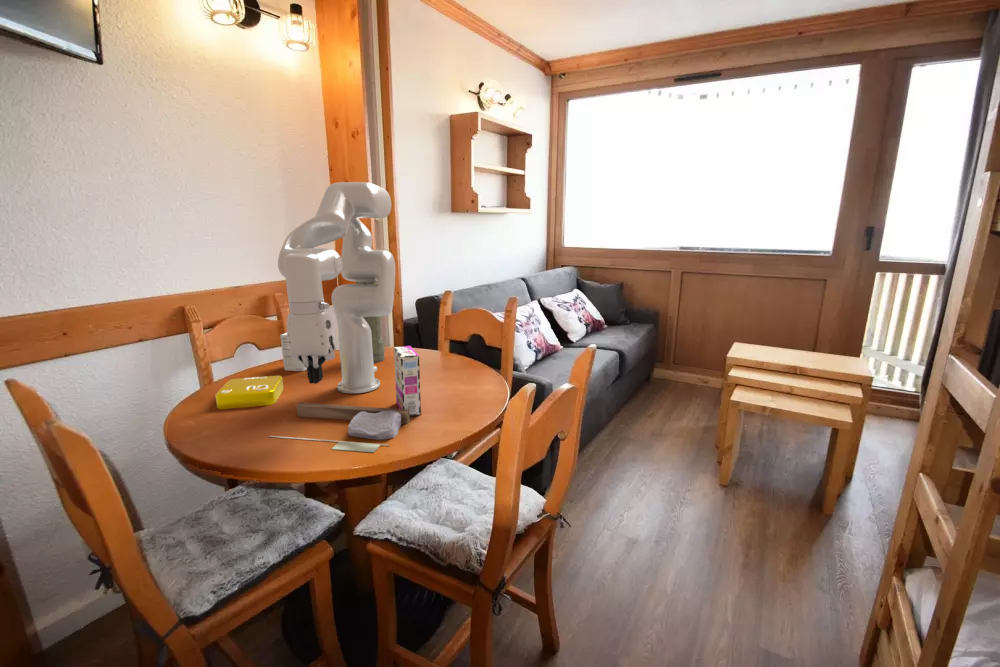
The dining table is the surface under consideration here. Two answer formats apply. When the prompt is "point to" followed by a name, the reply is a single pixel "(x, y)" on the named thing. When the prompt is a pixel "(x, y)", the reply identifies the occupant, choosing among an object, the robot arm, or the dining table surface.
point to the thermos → (375, 334)
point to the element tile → (249, 392)
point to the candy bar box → (407, 379)
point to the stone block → (375, 425)
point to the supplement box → (290, 362)
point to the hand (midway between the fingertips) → (316, 381)
